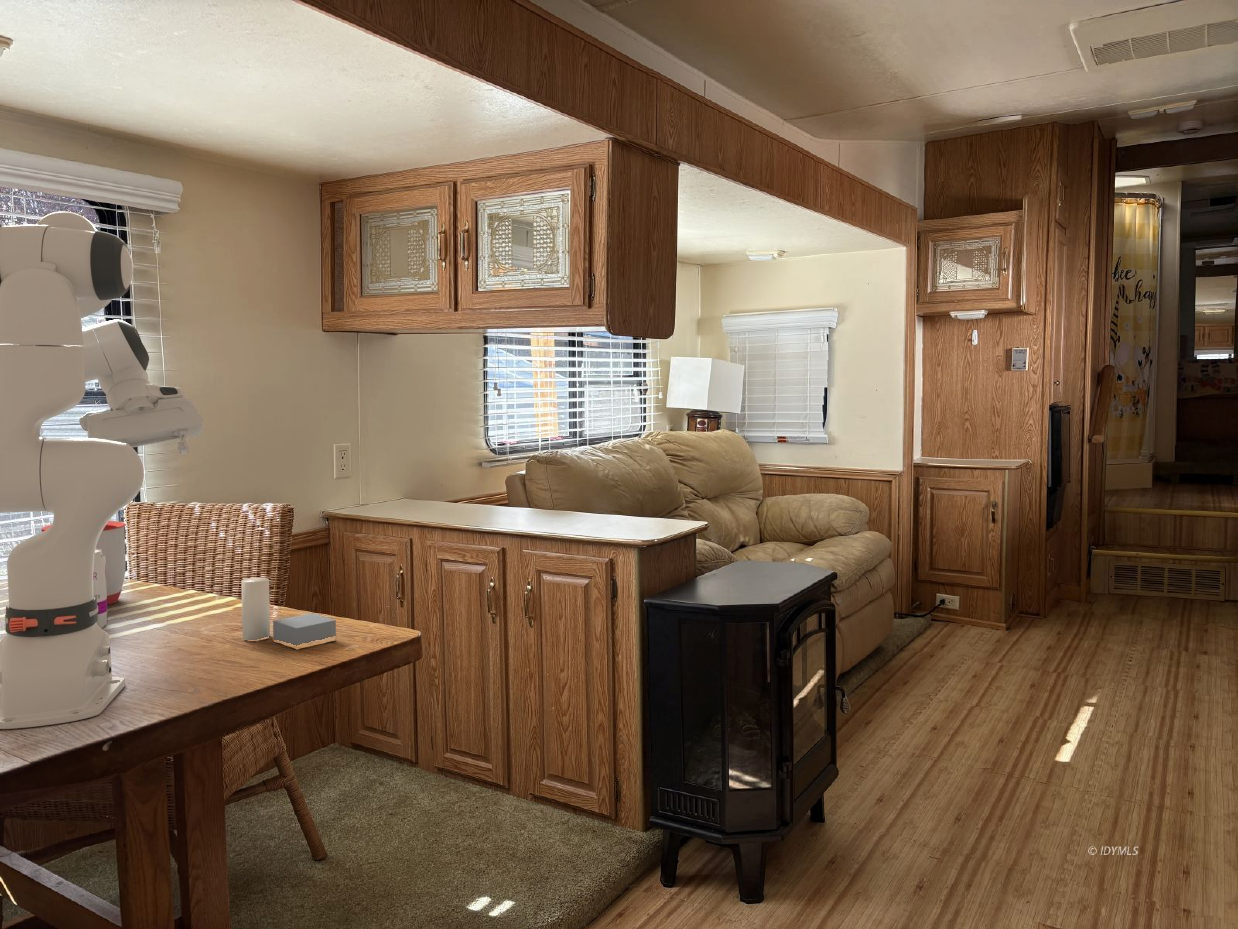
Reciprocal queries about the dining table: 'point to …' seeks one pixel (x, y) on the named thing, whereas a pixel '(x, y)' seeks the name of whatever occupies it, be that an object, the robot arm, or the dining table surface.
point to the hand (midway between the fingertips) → (158, 456)
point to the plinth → (303, 628)
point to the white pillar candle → (255, 608)
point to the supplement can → (100, 587)
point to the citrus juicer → (112, 557)
